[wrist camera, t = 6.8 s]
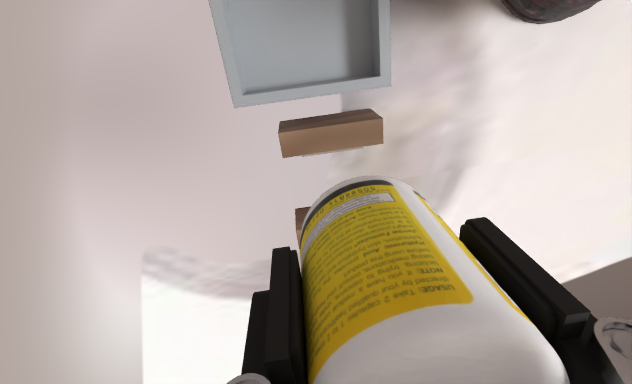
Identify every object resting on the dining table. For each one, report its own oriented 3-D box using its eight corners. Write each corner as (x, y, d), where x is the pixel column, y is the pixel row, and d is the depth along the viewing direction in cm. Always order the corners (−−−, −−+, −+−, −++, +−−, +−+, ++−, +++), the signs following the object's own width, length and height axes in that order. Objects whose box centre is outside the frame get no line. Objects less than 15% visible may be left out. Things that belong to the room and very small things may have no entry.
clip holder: (279, 121, 26) (278, 133, 23) (370, 108, 27) (382, 118, 23) (298, 225, 31) (299, 249, 28) (374, 214, 31) (385, 236, 28)
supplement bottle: (279, 263, 13) (256, 722, 4) (334, 150, 11) (512, 566, 2) (387, 295, 14) (547, 699, 5) (453, 200, 12) (874, 589, 3)
